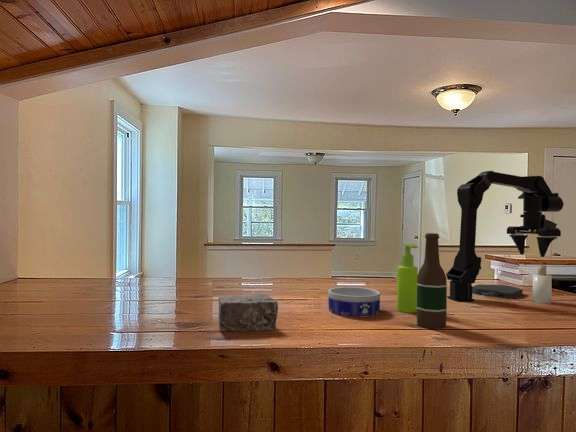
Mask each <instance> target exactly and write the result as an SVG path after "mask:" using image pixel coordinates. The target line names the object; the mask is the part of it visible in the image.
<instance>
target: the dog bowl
mask: <svg viewBox="0 0 576 432" xmlns="http://www.w3.org/2000/svg"><path fill="white" fill-rule="evenodd" d="M327 293H328V294H327V295H328V297H327V298H328V312H330V311H331V312H332V314H334V313H335V315H337V314H339V315H338V316H341V315H345V316H344V317H349V316H359V317H358V318H365V317H364V316H369V317H373V316H372V315H374V316H377V315H379V314H380V310H381V309H380V308H381V307H380V306H381V293H380V291H379V290H376V289H373V288H367V287H360V286H359V287H358V286H342V287H333V288H330V289H328V292H327ZM331 312H330V313H331ZM378 313H379V314H378ZM376 314H377V315H376ZM360 316H361V317H360ZM362 316H363V317H362Z"/></svg>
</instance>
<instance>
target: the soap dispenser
mask: <svg viewBox="0 0 576 432" xmlns="http://www.w3.org/2000/svg"><path fill="white" fill-rule="evenodd" d="M402 247H404V253H403V254H402V255H401V265H398V266H397V267H396V268H397V269H396V272H397V275H396V280H397V281H396V310H397V311H398V312H400V313H408V314H409V313H411V314H412V313H413V314H414V313H417V276H418V273H419V269H418V268H419V267H417V266H415V265H414V255H413V254H411V250H412V249H418V246H417V245H416V244H413V243H408V244H406V243H404V244H403V243H402Z"/></svg>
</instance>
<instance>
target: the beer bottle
mask: <svg viewBox="0 0 576 432" xmlns="http://www.w3.org/2000/svg"><path fill="white" fill-rule="evenodd" d="M424 238H425V247H424V248H425V249H424V260H423V264H422V266H421V267H420V268H419V269H418V276H417V312H416V325H417V327H420V328H424V329H427V330H441V329H446V327H447V296H448V291H447V290H448V289H447V288H448V287H447V285H448V284H447V283H448V282H447V276H446V273H445V270H444V269H443V267H442V266H441V263H440V262H441V261H440V250H439V248H440V247H439V246H440V245H439V239H440V234H438V233H432V232H428V233H425V235H424Z"/></svg>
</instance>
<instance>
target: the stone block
mask: <svg viewBox="0 0 576 432" xmlns="http://www.w3.org/2000/svg"><path fill="white" fill-rule="evenodd" d="M278 313H279V303H278V301H277V300H275V299H274V298H273V297H271V296H270V295H269V294H266V293H254V294H251V295H250V294H249V295H229V296H228V295H227V296H219V297H218V329H219V331H220V332H241V331H243V332H250V331H252V332H261V331H262V332H263V330H264V331H266V330H268V331H275V330H276V324H277V318H278Z"/></svg>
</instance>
